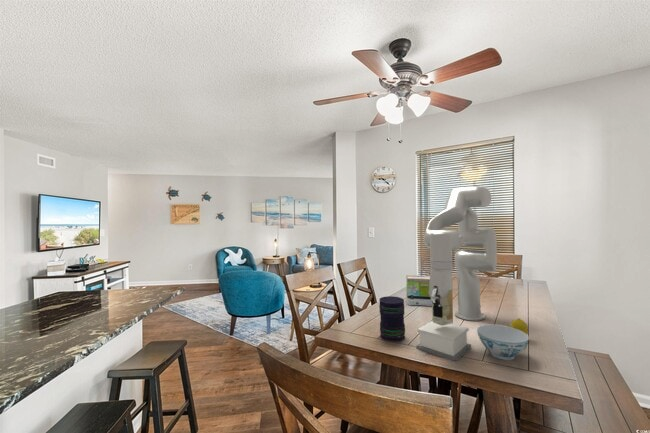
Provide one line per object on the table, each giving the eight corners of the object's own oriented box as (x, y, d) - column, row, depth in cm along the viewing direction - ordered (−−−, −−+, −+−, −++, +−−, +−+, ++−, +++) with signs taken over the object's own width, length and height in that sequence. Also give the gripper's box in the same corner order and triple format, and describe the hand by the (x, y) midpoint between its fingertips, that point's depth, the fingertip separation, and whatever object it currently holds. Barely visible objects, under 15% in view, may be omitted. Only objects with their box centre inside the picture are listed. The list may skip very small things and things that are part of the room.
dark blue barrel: (410, 336, 116) (409, 299, 116) (395, 344, 109) (394, 304, 109) (389, 330, 123) (388, 295, 123) (375, 336, 117) (374, 299, 117)
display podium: (433, 336, 115) (433, 319, 115) (470, 347, 105) (470, 327, 105) (416, 348, 105) (415, 329, 106) (455, 361, 95) (454, 339, 96)
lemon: (528, 343, 107) (528, 322, 107) (510, 340, 110) (510, 319, 110) (527, 338, 111) (527, 317, 112) (510, 335, 114) (510, 315, 114)
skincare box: (441, 326, 102) (440, 291, 102) (432, 322, 106) (431, 289, 106) (454, 323, 105) (453, 289, 105) (444, 319, 109) (443, 286, 109)
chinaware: (476, 359, 96) (475, 336, 96) (479, 342, 109) (478, 322, 109) (531, 371, 88) (530, 345, 88) (527, 351, 101) (526, 329, 101)
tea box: (407, 305, 156) (406, 278, 156) (406, 300, 166) (405, 274, 166) (437, 306, 153) (436, 278, 153) (434, 301, 163) (433, 275, 163)
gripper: (441, 261, 114) (442, 306, 114) (420, 267, 102) (421, 318, 102) (461, 263, 109) (462, 310, 109) (441, 270, 97) (442, 323, 97)
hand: (442, 313), depth 105 cm, fingers closed on skincare box, 7 cm apart
